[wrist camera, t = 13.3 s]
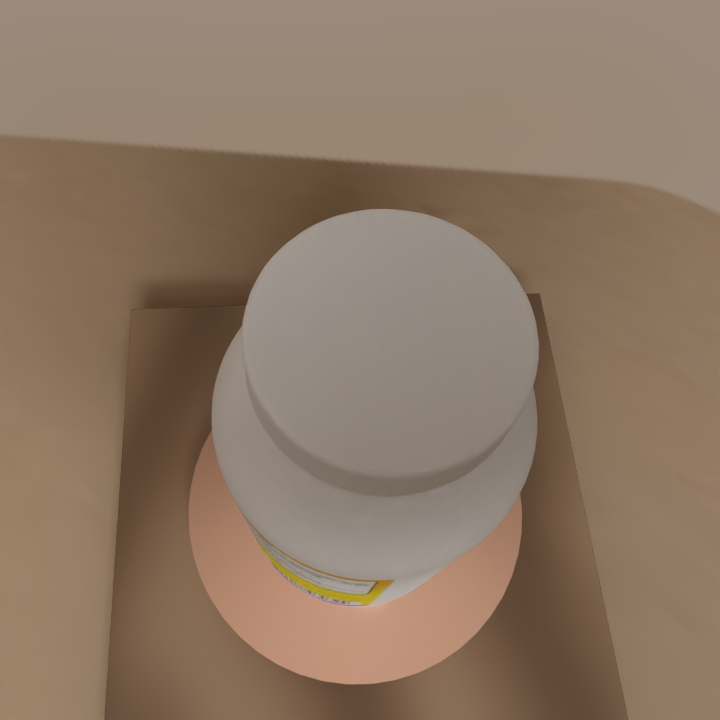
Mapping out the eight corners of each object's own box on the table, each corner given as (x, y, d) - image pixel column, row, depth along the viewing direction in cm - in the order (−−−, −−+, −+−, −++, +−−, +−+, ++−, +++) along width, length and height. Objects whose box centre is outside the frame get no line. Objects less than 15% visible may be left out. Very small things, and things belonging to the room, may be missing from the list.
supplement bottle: (416, 386, 24) (514, 127, 12) (483, 572, 21) (686, 472, 10) (231, 435, 23) (141, 201, 11) (279, 637, 20) (229, 613, 9)
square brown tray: (528, 310, 28) (539, 293, 27) (614, 743, 22) (634, 749, 21) (140, 326, 27) (131, 309, 26) (113, 793, 21) (99, 803, 19)
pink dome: (487, 352, 26) (494, 341, 25) (540, 667, 21) (550, 668, 20) (197, 366, 25) (192, 355, 24) (189, 698, 20) (183, 700, 19)
